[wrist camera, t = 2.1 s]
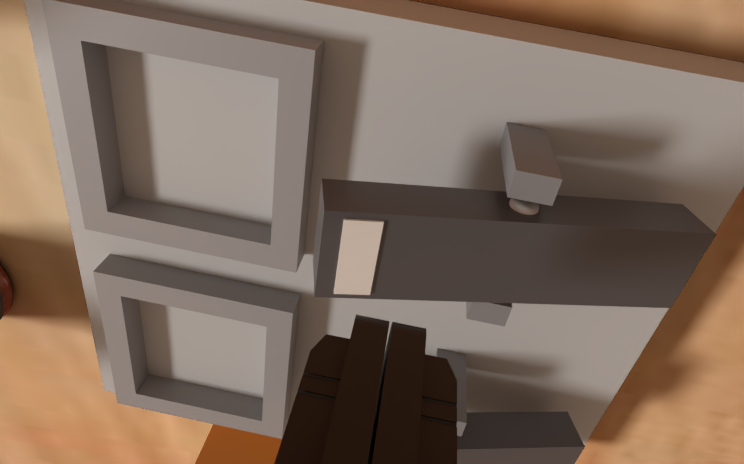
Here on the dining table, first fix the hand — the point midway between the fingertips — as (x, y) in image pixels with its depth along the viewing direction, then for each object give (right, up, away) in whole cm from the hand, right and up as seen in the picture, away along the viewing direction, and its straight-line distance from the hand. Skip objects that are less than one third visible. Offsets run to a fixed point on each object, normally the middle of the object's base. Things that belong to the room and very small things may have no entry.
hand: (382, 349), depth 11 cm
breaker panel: (-1, +2, +12) cm, 12 cm away
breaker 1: (+4, +2, +4) cm, 6 cm away
